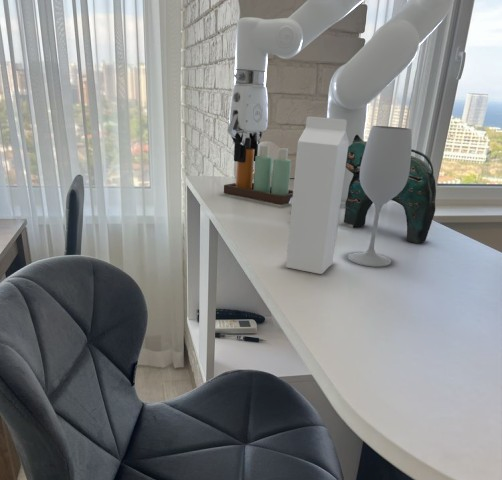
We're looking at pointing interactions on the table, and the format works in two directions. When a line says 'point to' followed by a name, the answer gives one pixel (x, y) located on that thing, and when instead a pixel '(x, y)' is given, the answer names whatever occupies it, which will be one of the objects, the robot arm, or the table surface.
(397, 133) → the wineglass
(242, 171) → the amber bottle
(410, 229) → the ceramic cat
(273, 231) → the table surface
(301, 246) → the milk
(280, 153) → the bottle
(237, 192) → the tray
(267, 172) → the bottle
